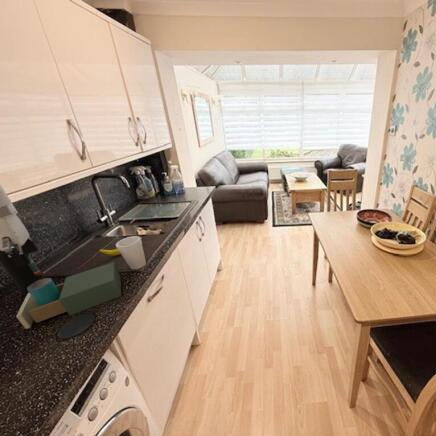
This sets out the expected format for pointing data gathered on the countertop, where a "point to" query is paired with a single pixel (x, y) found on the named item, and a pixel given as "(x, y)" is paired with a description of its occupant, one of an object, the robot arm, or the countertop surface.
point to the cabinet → (90, 288)
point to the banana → (111, 251)
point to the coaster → (76, 326)
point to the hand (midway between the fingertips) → (28, 258)
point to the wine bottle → (21, 271)
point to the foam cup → (132, 251)
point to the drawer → (39, 310)
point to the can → (44, 291)
